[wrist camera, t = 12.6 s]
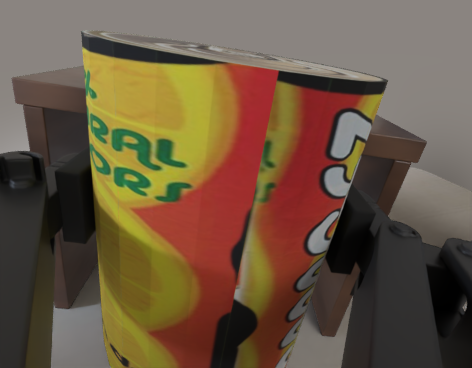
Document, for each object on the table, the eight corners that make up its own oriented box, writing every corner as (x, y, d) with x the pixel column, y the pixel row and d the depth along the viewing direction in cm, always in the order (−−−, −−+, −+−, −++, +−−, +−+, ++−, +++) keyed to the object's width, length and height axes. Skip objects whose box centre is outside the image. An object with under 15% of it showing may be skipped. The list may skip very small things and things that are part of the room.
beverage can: (75, 432, 10) (5, 29, 5) (123, 253, 18) (118, 30, 12) (323, 407, 12) (475, 99, 6) (267, 255, 20) (314, 61, 14)
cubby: (307, 246, 38) (353, 102, 30) (339, 337, 26) (428, 141, 19) (109, 222, 37) (102, 62, 29) (49, 307, 25) (10, 77, 17)
